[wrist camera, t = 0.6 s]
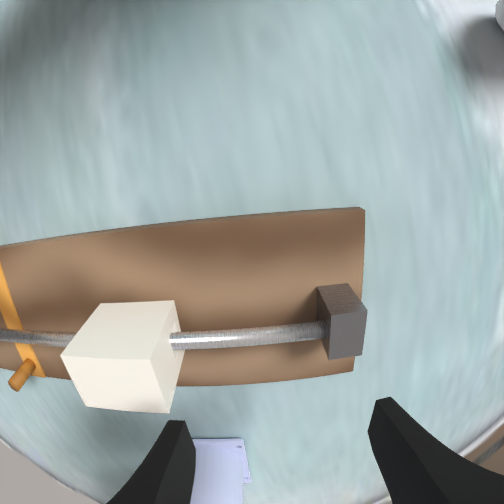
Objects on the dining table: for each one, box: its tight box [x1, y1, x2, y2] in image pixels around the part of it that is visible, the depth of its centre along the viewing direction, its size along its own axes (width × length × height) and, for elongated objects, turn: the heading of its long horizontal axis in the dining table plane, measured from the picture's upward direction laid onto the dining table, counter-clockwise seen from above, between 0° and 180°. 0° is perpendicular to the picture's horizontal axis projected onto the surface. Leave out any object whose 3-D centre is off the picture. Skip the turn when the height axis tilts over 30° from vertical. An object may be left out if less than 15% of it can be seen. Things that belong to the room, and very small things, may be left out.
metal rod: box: [0, 283, 367, 360], centre depth 18 cm, size 3×29×4 cm, turn 95°
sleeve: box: [60, 300, 185, 413], centre depth 15 cm, size 4×5×6 cm
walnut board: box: [0, 207, 365, 392], centre depth 18 cm, size 12×34×4 cm, turn 95°
